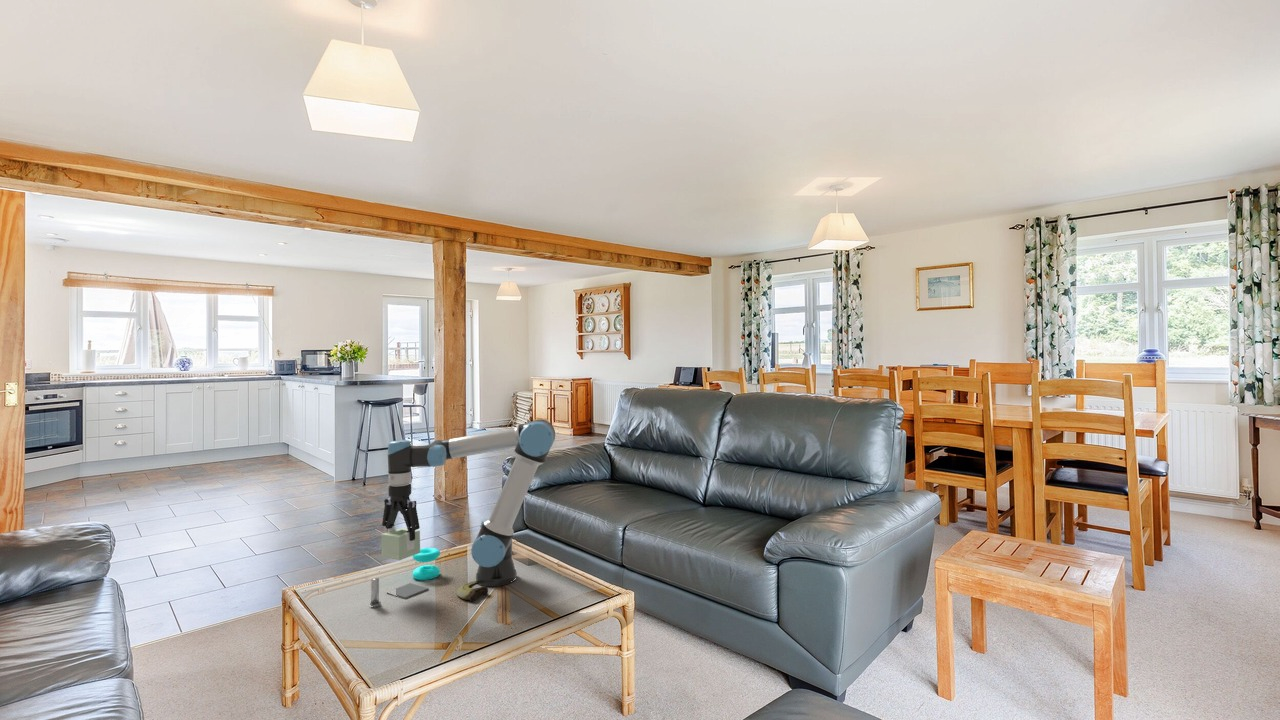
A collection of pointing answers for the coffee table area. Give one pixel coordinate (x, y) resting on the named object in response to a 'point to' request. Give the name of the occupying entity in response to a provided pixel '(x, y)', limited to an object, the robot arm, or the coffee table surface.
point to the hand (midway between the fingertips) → (401, 547)
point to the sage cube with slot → (398, 544)
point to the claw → (471, 591)
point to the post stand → (375, 592)
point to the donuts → (426, 570)
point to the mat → (409, 590)
